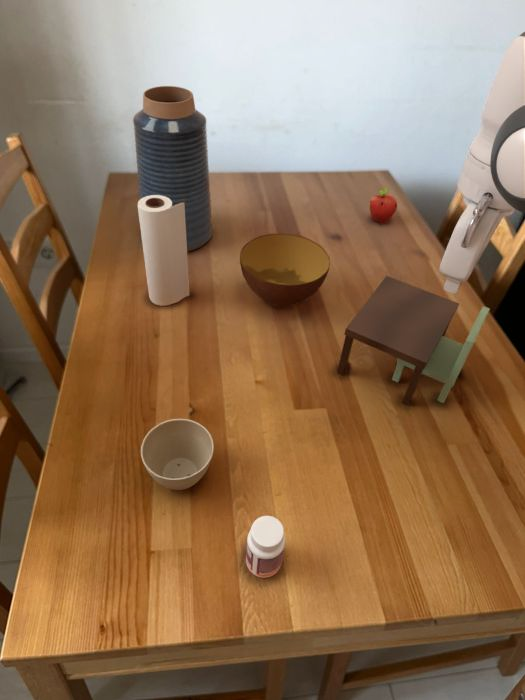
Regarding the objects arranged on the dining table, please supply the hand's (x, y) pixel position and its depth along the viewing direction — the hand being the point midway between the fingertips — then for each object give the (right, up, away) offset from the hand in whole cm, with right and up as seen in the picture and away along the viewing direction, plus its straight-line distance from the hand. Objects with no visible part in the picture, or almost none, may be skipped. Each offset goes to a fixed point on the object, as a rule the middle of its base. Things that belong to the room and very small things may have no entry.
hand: (460, 272), depth 72 cm
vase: (-48, +16, +50) cm, 71 cm away
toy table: (-4, -13, +24) cm, 27 cm away
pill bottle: (-28, -39, -4) cm, 48 cm away
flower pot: (-40, -29, +4) cm, 50 cm away
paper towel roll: (-47, 0, +33) cm, 58 cm away
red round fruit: (+2, +22, +60) cm, 64 cm away
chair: (+2, -15, +22) cm, 27 cm away
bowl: (-24, 0, +36) cm, 43 cm away
